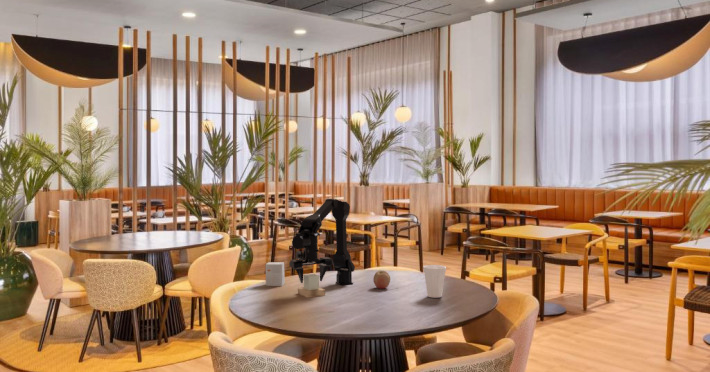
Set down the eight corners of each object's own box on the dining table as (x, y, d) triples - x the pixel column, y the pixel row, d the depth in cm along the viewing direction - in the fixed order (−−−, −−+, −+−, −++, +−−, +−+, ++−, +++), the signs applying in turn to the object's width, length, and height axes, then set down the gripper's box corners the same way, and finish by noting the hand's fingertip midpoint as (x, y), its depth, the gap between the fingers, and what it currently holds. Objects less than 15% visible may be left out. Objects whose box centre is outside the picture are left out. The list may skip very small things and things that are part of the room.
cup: (449, 295, 255) (449, 265, 255) (442, 300, 246) (442, 269, 246) (427, 293, 259) (427, 264, 259) (419, 298, 250) (419, 267, 250)
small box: (284, 284, 282) (284, 262, 282) (282, 286, 277) (282, 264, 277) (268, 283, 283) (268, 262, 283) (265, 286, 278) (265, 263, 277)
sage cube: (314, 287, 262) (313, 273, 262) (319, 289, 257) (318, 275, 257) (303, 288, 259) (303, 274, 259) (308, 290, 255) (308, 276, 255)
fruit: (370, 289, 269) (370, 271, 269) (376, 286, 277) (376, 269, 277) (387, 290, 266) (387, 273, 266) (392, 287, 274) (392, 270, 274)
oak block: (316, 292, 265) (316, 286, 265) (325, 296, 257) (325, 289, 257) (297, 294, 260) (297, 288, 260) (306, 298, 252) (306, 291, 252)
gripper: (322, 243, 269) (322, 277, 270) (284, 246, 260) (284, 281, 261) (333, 246, 260) (333, 281, 260) (294, 249, 251) (294, 285, 251)
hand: (311, 282), depth 258 cm, fingers open, 9 cm apart
